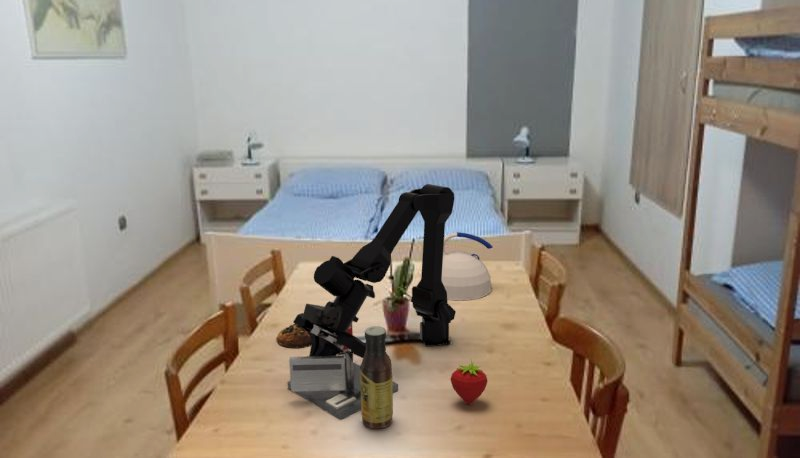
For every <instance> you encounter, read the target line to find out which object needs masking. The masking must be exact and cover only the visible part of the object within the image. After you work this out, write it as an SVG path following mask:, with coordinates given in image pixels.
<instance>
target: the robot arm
mask: <svg viewBox="0 0 800 458" xmlns="http://www.w3.org/2000/svg"><path fill="white" fill-rule="evenodd" d="M454 204H455V192H453V190H452V189H451V188H450V187H448V186H443V185H436V184H430V183H426V184H425V185H423V186H422V187H420V188H414V189H412V190H410V191H406V192H403V193H400V195H399V197H398V201H397V203H396V205H395V206H394V208H393V209H392V211H391V212H390V214H389V216H388V217H387V218H386V220H385V221H384V223H383V225H382V226H381V227H380V229H379V231H378V232H377V233H376V235H375V237H374V238H373V239H372V240H371V241H370V242H369V243H366V244H364V245H363V246H362V247H360V249H359V250H358V251H357V252H356V253H355V254H354V255H353V257H352V258H351V259H349V260H347V261H345V262H343V260H342V259H341V258H339V257H337V256H336V255H335V256H334V255H331V257H330V258H329V260H325V261H323V262H322V263H320V264H319V265H318V266H317V267H316V268H315V270H314V274H313V280H314V282H315V283H316V284H317V285H319V286H320V287H321V288H322V289H324V290H325V291H326V292H328V293H329V294H330V295H331V296H333V297H334V296H337V297H336V298H335V300H334V299H333V301H334V302H331V301H328V302H327V303H326V304H325V305H324V306H323V305H319V304H318V305H317V304H312V303H311V304H310V303H305V305H304V310H303V312H301V313H299V314H297V315H296V317H295V318H294V320H293V322H292V323H293V324H296V325H298V326H299V327H301V328H302V329H304V330H305V331H307V332H308V335H310V339H311V345H310V350H309V355H308V356H338V355H339V354H344V353H343V352H344V351H343V350H342V349H343V347H344V346H345V347H347V348H349V349H350V350H349V351H353V355H355V356H357V357H359V358H361V359H363V357H364V354H365V351H366V342H364V341H362V340H361V339H360V338H358V337H357V336H356V335H354V334H353V335H351V334H349V333H347V331H348V329H349V327H350V325H351V324H352V325H353V322H354V323H358V322H359V320H360V318H359V317H358V316H357V314H358V313H359V311H360V310H361V308H362V306H363V304H364V302H365V301H366V299H367V297H368V298H372V299H375V298H376V292H375V291H374V285H372V284H375V283H380V282H381V281H383V280H384V278H385V276H386V274H387V273H388V271H389V268H390V266H391V263H392V253H393V252H394V250H395V247H396V246H397V245H398V243H399V242H400V240H401V239H402V237H403V235H404V234H405V232H406V231H407V229H408V227H409V226H410V224H411V223H412V221H413V220H414V218H415V217H416V215H417V213H418V212H419V213H420V216H421V218H422V219H423V223H424V224H423V238H422V239H423V241H422V242H423V244H422V257H421V276H420V277H421V278H420V280H419V282H418V283H417V285H414V286H412V288H411V299H410V303H412V308H413V309H414V310H415V314H416V315H417V316H418V317H421V321H420V323H419V338H420V340H421V341H422V342H423V344H424V346H425V347H434V346H444V345H445V346H446V345H451V343H452V341H451V339H450V324H451V323H452V321H454V320H455V317H456V310H455V309H454V308H453V307H452V306H451V305H450V304H449V303H448V300H447V291H446V289H445V287H444V285H443V283H442V264H443V248H445V247H444V238H445V233H446V232H445V230H446V222H447V221H448V220H449V218H450V216H451V215H452V214H453V211H454V210H453V209H454ZM355 278H356V279H355ZM363 281H364V282H370V283H372V284H368V283H364V282H363ZM335 334H336V335H335Z"/></svg>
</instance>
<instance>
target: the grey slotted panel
mask: <svg viewBox="0 0 800 458" xmlns="http://www.w3.org/2000/svg"><path fill="white" fill-rule="evenodd" d="M288 362H289V377H290V381H291V390H290V391H291V392H294V393H295V392H296V391H335V390H346V388H347V390H349V391H351V390H354V370H353V362H354V354H353V351H351V350H349V351H346V352H345V353H344V355H336V356H309V355H308V356H307V355H306V356H304V355H303V356H289V359H288ZM345 364H346V381H345Z"/></svg>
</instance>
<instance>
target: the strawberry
mask: <svg viewBox="0 0 800 458" xmlns="http://www.w3.org/2000/svg"><path fill="white" fill-rule="evenodd" d="M474 363H475V362H473V360H472V359H470V363H469V364H468V365H458V366H459V367H457V368H456V369H455V370H454V371H453V372H452V373H451V377H450V383H451V386H452V389H453V390H454V391H455V392H456V394H457V396H458V397H460V399H462V400H463V401H464V403H466V405H472V404H473V403H474V402H475V401H476V400H477V399H478V398H479V397H481V395H482V394H483V392H484V391H486V387H487V385H488V378H487V376H488V375H487V374H486V372H484V371H483V369H480V366H478V365H474Z"/></svg>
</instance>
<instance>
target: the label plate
mask: <svg viewBox="0 0 800 458" xmlns="http://www.w3.org/2000/svg"><path fill="white" fill-rule="evenodd" d="M355 400H356V398H355V397H351V398H348V397H346V396H344V395H342V394H339V395H337V396H335V397H333V398H331V399H329V400H327V401H326V403H327V404H329V405H331V406H333V407H334V408H336V409H339V408H341V407H343V406H345V405H347V404H349V403H351V402H353V401H355Z"/></svg>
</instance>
